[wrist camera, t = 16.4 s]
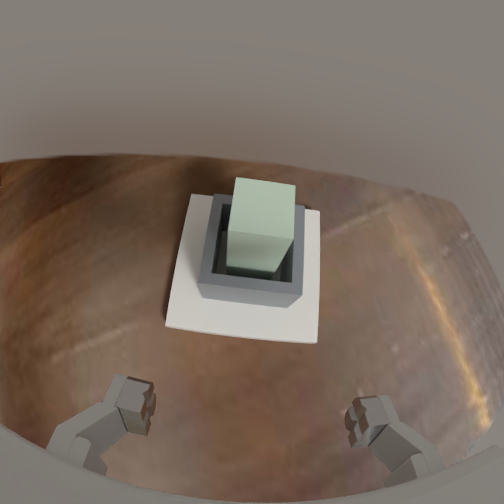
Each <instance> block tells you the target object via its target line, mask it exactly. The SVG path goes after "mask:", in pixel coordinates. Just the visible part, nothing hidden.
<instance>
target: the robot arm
mask: <svg viewBox="0 0 504 504" xmlns="http://www.w3.org/2000/svg"><path fill="white" fill-rule="evenodd" d="M153 390H154V384H153V382H149V381H145V380H141V379H137V378H133V377H129V376H126V375H122V374H118V373H117V374H116V375H115V376H114V378H113V380H112V382H111V384H110V386H109V388H108V391H107V393H106V395H105V397H104V399H103V401H102V403H101V402H98V403H96V404H94V405H93V406H91V407H89V408H88V409H86V410H84V411H82V412H81V413H79V414H77V415H75V416H74V417H72V418H70V419H69V420H67V421H65V422H63V423H61V424H60V425H58V426H57V427H56V429H55V431H54V433H53V435H52V437H51V439H50V442H49V444H48V446H47V448H46V450H44V449H43V448H41V447H39V446H37V445H35V444H33V443H31V442H30V441H28V440H26V439H24V438H23V437H21V436H19V435H18V434H16V433H15V432H13V431H11V430H10V429H8V428H7V427H5V426H4V425H2V424H1V423H0V504H504V448H502V447H500V446H498V445H494V446H491V447H489V448H487V449H485V450H483V451H481V452H479V453H477V454H475V455H473V456H471V457H469V458H467V459H465V460H463V461H461V462H458V463H456V464H454V465H451V466H449V467H447V468H445V466H444V463H443V461H442V458H441V456H440V454H439V451H438V449H437V447H436V446H435V445H433V444H432V443H430V442H429V441H428V440H426V439H425V438H424V437H422V436H421V435H420V434H418V433H417V432H416V431H414V430H413V429H412V428H410V427H409V426H408V425H406V424H405V423H404V422H400V420H399V418H398V416H397V413H396V411H395V409H394V406H393V404H392V402H391V399H390V397H389V396H388V395H380V396H367V397H357V398H355V399H354V400H353V402H352V404H353V406H352V407H350V408H349V409H348V410H347V412H346V414H345V426H346V429H348V430H349V431H350V433H349V435H348V438H349V442H350V446H351V448H358V447H367V446H369V447H368V448H369V449H370V450H371V451H372V452H373V453H374V454H375V455H376V456H377V457H378V458H379V459H380V460H381V461H382V462H383V463H384V464H385V466H386V467H387V468H388V469H389V470H390V471H391V472H392V473H391V474H390V475H388V476H387V477H386V478H385V479H384V480H383V481H384V485H385V488H383V489H379V490H374V491H370V492H365V493H360V494H355V495H350V496H344V497H337V498H330V499H322V500H312V501H300V502H280V503H251V502H231V501H219V500H210V499H202V498H194V497H188V496H182V495H176V494H171V493H166V492H161V491H157V490H153V489H148V488H144V487H141V486H137V485H133V484H130V483H126V482H123V481H120V480H117V479H113V478H110V477H108V476H106V472H107V469H108V468H107V466H106V464H105V463H104V461H103V460H102V459H101V457H100V455H101V454H102V453H104V452H105V451H106V450H107V449H108V448H110V447H111V446H112V445H113V444H115V443H116V442H117V441H118V440H119V439H121V438H122V437H123V436H124V435H125V434H127V432H130V433H135V434H139V435H143V436H147V435H148V432H149V428H150V425H151V422H150V417H151V416H153V415H154V411H155V405H156V396H155V394H154V393H153Z"/></svg>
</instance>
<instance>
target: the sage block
mask: <svg viewBox="0 0 504 504" xmlns="http://www.w3.org/2000/svg"><path fill="white" fill-rule="evenodd" d="M294 216H295V186H294V185H288V184H281V183H275V182H268V181H261V180H254V179H246V178H238V177H236V181H235V188H234V194H233V200H232V207H231V214H230V220H229V227H228V241H227V264H226V275H230V276H238V277H246V278H254V279H262V280H271V279H272V277H273V275H274V273H275V271H276V270H277V268H278V266H279V264H280V263H281V261H282V259H283V257H284V256H285V254H286V252H287V250H288V248H289V247H290V245H291V243H292V241H293V239H294Z"/></svg>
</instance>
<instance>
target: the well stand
mask: <svg viewBox="0 0 504 504" xmlns="http://www.w3.org/2000/svg"><path fill="white" fill-rule="evenodd" d="M232 200H233V196H232V195H224V194H215V193H214V196H207V195H198V194H191V198H190V202H189V206H188V211H187V215H186V219H185V224H184V228H183V233H182V237H181V242H180V247H179V252H178V256H177V261H176V266H175V272H174V277H173V282H172V288H171V293H170V299H169V305H168V311H167V317H166V324H165V326H167V327H170V328H175V329H182V330H188V331H194V332H201V333H208V334H216V335H223V336H231V337H240V338H249V339H259V340H270V341H282V342H295V343H311V344H313V343H317V332H318V311H319V280H320V211H315V210H309V209H305V206H302V205H296V204H295V216H294V239H293V241H292V243H291V245H290V247H289V248H288V250H287V252H286V254H285V256H284V257H283V259H282V261H281V263H280V264H279V266H278V268H277V270H276V271H275V273H274V275H273V277H272V279H271V280H262V279H254V278H246V277H238V276H230V275H226V264H227V241H228V227H229V220H230V214H231V207H232Z"/></svg>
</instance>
